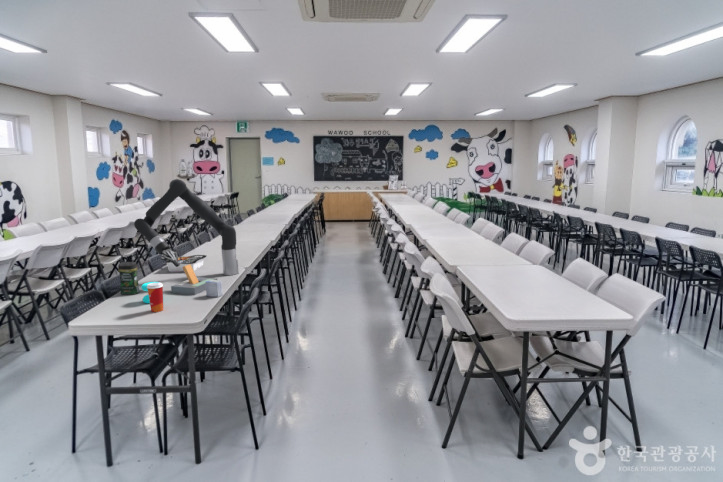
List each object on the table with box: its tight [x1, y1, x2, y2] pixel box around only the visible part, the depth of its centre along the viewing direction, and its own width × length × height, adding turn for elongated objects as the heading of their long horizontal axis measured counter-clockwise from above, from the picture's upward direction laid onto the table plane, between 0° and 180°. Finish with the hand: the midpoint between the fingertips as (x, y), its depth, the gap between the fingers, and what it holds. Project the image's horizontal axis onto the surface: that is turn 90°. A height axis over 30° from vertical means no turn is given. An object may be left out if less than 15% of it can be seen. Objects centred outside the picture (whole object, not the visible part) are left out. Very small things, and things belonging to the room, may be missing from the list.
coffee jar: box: [117, 261, 141, 296], centre depth 263 cm, size 10×8×19 cm
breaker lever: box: [182, 264, 199, 284], centre depth 271 cm, size 2×5×12 cm, turn 162°
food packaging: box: [162, 254, 207, 273], centre depth 325 cm, size 25×8×23 cm
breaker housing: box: [170, 276, 218, 296], centre depth 271 cm, size 16×22×4 cm
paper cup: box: [147, 281, 164, 313], centre depth 231 cm, size 8×8×14 cm
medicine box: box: [205, 279, 224, 298], centre depth 256 cm, size 8×4×9 cm, turn 71°
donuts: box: [140, 281, 159, 304], centre depth 248 cm, size 10×10×10 cm
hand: (178, 265), depth 273 cm, fingers closed
